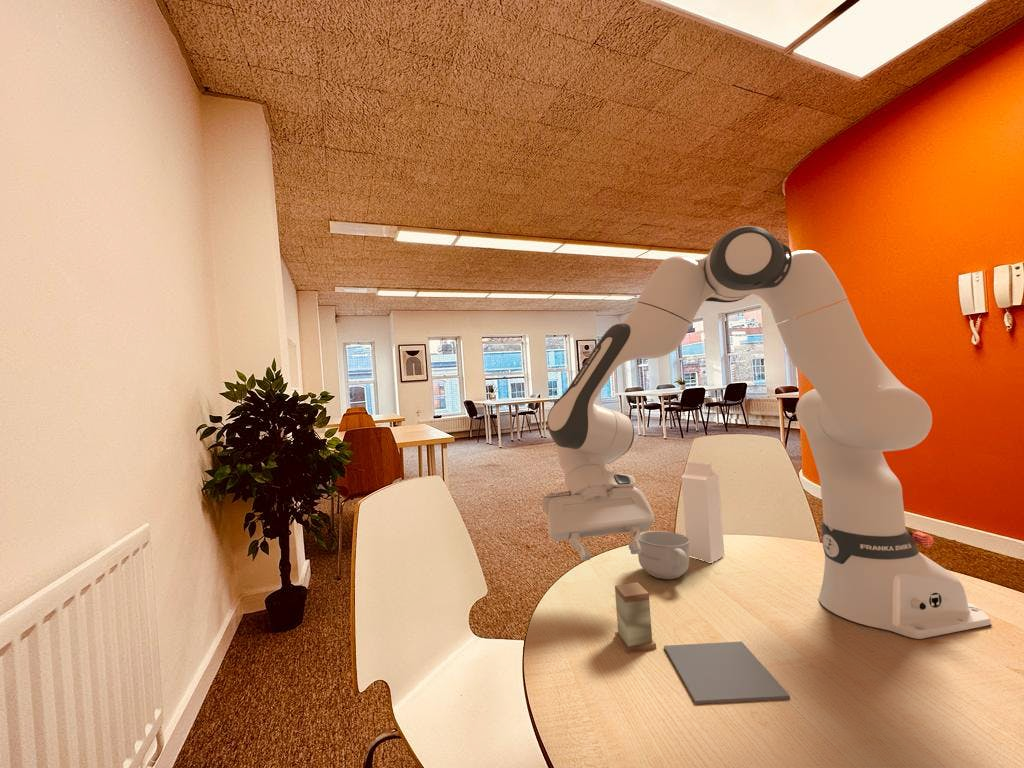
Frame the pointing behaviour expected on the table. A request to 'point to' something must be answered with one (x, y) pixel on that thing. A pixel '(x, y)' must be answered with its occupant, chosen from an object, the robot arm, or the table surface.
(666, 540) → the teacup
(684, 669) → the mat
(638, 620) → the banded square pillar
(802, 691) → the table surface
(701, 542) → the milk
